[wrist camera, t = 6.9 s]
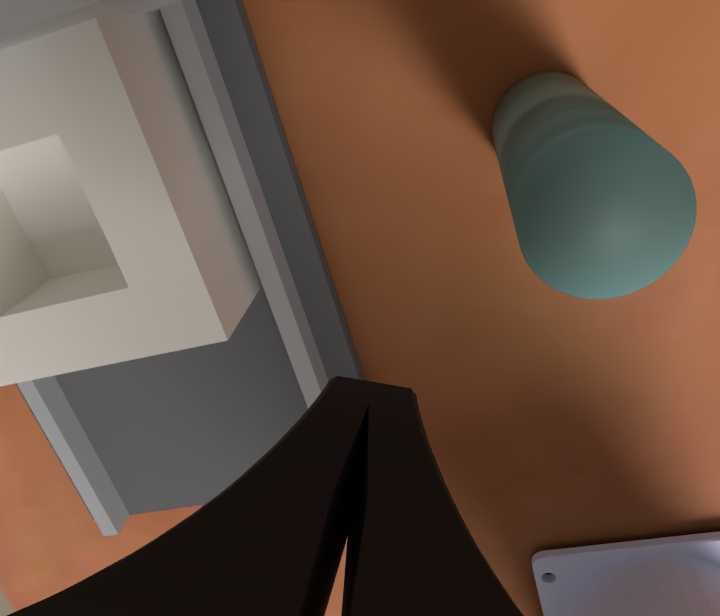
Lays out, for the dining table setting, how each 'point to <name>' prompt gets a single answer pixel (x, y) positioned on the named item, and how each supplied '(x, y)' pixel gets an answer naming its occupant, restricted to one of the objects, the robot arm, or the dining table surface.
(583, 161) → the dowel
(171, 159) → the sliding block
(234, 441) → the base
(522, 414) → the dining table surface
